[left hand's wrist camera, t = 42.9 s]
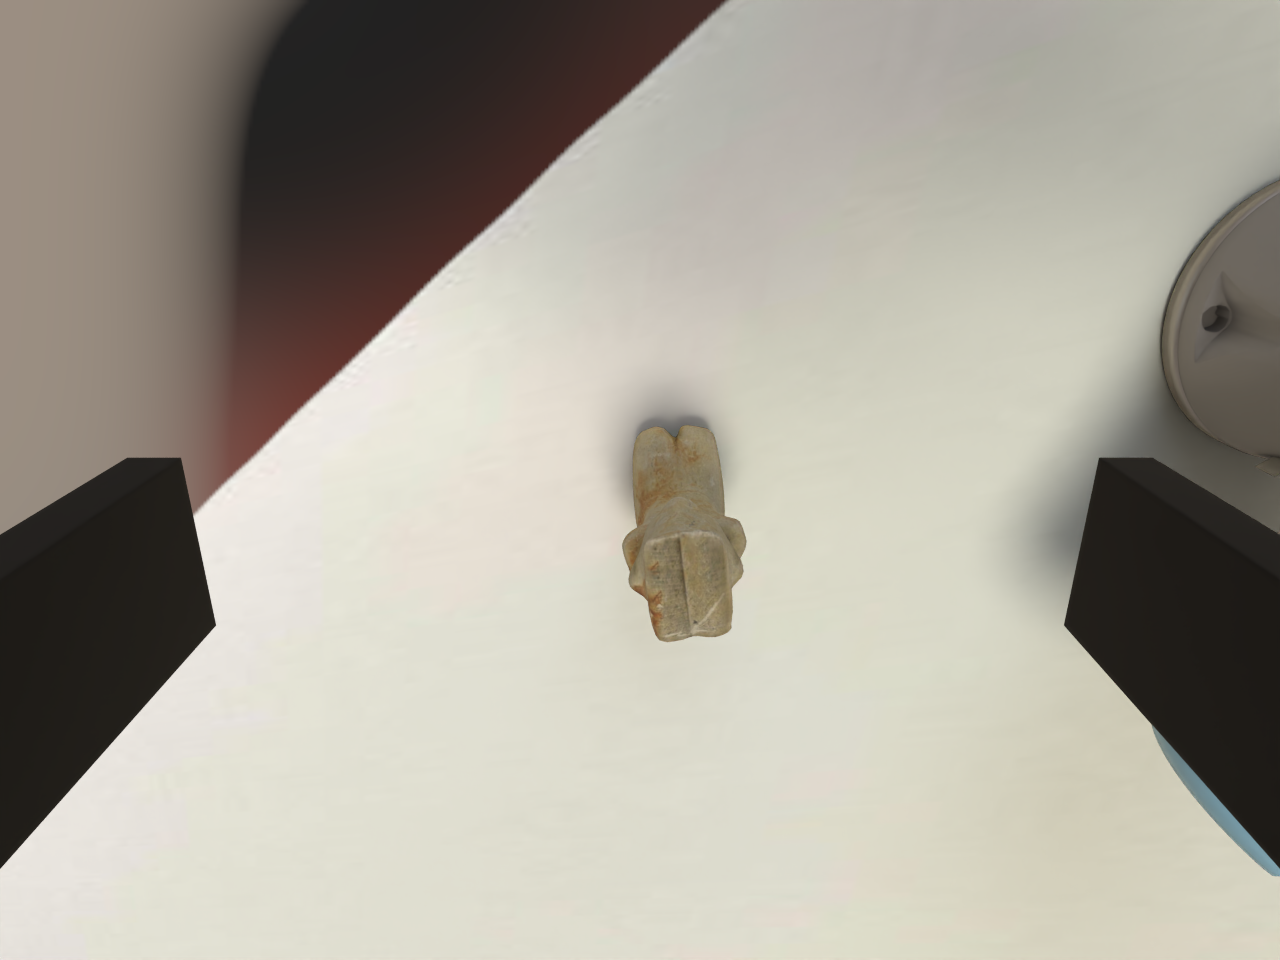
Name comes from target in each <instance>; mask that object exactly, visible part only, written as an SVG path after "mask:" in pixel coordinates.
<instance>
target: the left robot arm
mask: <svg viewBox="0 0 1280 960" xmlns="http://www.w3.org/2000/svg"><path fill="white" fill-rule="evenodd" d="M1162 358H1163V366H1164V372H1165V376H1166V380H1167V383H1168V386H1169V389H1170V391H1171V393H1172V395H1173V397H1174V399H1175V401H1176V403H1177V404H1178V406H1179V408H1180V409H1181V410H1182V412H1183V413H1184V414H1185V415H1186V417H1187V418H1188V419H1189V420H1190V421H1191V422H1192V423H1193V424H1194V425H1195V426H1196V427H1198V428H1199V429H1200V430H1202V431H1203V432H1204V433H1206V434H1207V435H1209V436H1211V437H1213V438H1214V439H1216V440H1218V441H1220V442H1222V443H1224V444H1226V445H1228V446H1230V447H1232V448H1234V449H1237V450H1239V451H1241V452H1244V453H1247V454H1250V455H1254V456H1258V457H1262V458H1265V459H1268V460H1266V461H1264V462H1262V463H1260V464H1259V465H1257V466H1255V467H1257V468H1259V469H1261V470H1262V471H1264V472H1266V473H1268V474H1270V475H1272V476H1274V477H1275V476H1277V475H1279V474H1280V180H1279V181H1277V182H1275V183H1273V184H1271V185H1269V186H1267V187H1265V188H1264V189H1262V190H1260V191H1259V192H1257V193H1255V194H1254V195H1252V196H1251V197H1249V198H1248V199H1247V200H1245V201H1244V202H1242V203H1241V204H1240V205H1238V206H1237V207H1236V208H1235V209H1234V210H1232V211H1231V212H1230V213H1229V214H1228V215H1227V216H1226V217H1225V218H1223V219H1222V220H1221V221H1220V222H1219V223H1218V224H1217V225H1216V226H1215V227H1214V228H1213V230H1212V231H1211V232H1210V233H1209V234H1208V235H1207V236H1206V238H1205V239H1204V240H1203V241H1202V243H1201V244H1200V245H1199V247H1198V248H1197V249H1196V251H1195V252H1194V253H1193V255H1192V256H1191V258H1190V260H1189V261H1188V263H1187V264H1186V266H1185V268H1184V270H1183V271H1182V273H1181V275H1180V277H1179V279H1178V281H1177V284H1176V286H1175V288H1174V291H1173V293H1172V296H1171V299H1170V302H1169V305H1168V308H1167V312H1166V316H1165V321H1164V327H1163V335H1162ZM215 626H216V623H215V618H214V613H213V609H212V604H211V599H210V594H209V590H208V585H207V580H206V575H205V571H204V566H203V561H202V556H201V551H200V547H199V542H198V537H197V532H196V528H195V523H194V518H193V513H192V509H191V504H190V499H189V494H188V489H187V485H186V480H185V475H184V470H183V466H182V461H181V458H126V459H125V460H123V461H121V462H120V463H118V464H116V465H115V466H113V467H111V468H110V469H108V470H106V471H105V472H103V473H101V474H100V475H98V476H96V477H95V478H93V479H92V480H90V481H88V482H87V483H85V484H83V485H82V486H80V487H78V488H77V489H75V490H73V491H72V492H70V493H68V494H67V495H65V496H63V497H62V498H60V499H59V500H57V501H55V502H54V503H52V504H50V505H49V506H47V507H45V508H44V509H42V510H40V511H39V512H37V513H36V514H34V515H32V516H30V517H29V518H27V519H26V520H24V521H22V522H21V523H19V524H17V525H16V526H14V527H12V528H11V529H9V530H7V531H6V532H4V533H2V534H1V535H0V868H1V867H2V866H3V865H4V864H5V863H6V862H7V861H8V859H9V858H10V857H11V856H12V855H13V854H14V853H15V852H16V850H17V849H18V848H19V847H20V846H21V845H22V844H23V843H24V841H25V840H26V839H27V838H28V837H29V836H30V835H31V833H32V832H33V831H34V830H35V829H36V828H37V827H38V826H39V824H40V823H41V822H42V821H43V820H44V819H45V818H46V817H47V815H48V814H49V813H50V812H51V811H52V810H53V809H54V808H55V806H56V805H57V804H58V803H59V802H60V801H61V800H62V799H63V797H64V796H65V795H66V794H67V793H68V792H69V791H70V789H71V788H72V787H73V786H74V785H75V784H76V783H77V782H78V780H79V779H80V778H81V777H82V776H83V775H84V774H85V773H86V771H87V770H88V769H89V768H90V767H91V766H92V765H93V764H94V762H95V761H96V760H97V759H98V758H99V757H100V756H101V755H102V753H103V752H104V751H105V750H106V749H107V748H108V747H109V745H110V744H111V743H112V742H113V741H114V740H115V739H116V738H117V736H118V735H119V734H120V733H121V732H122V731H123V730H124V729H125V727H126V726H127V725H128V724H129V723H130V722H131V721H132V720H133V718H134V717H135V716H136V715H137V714H138V713H139V712H140V711H141V709H142V708H143V707H144V706H145V705H146V704H147V703H148V702H149V700H150V699H151V698H152V697H153V696H154V695H155V694H156V692H157V691H158V690H159V689H160V688H161V687H162V686H163V685H164V683H165V682H166V681H167V680H168V679H169V678H170V677H171V676H172V674H173V673H174V672H175V671H176V670H177V669H178V668H179V667H180V665H181V664H182V663H183V662H184V661H185V660H186V659H187V658H188V656H189V655H190V654H191V653H192V652H193V651H194V650H195V648H196V647H197V646H198V645H199V644H200V643H201V642H202V641H203V639H204V638H205V637H206V636H207V635H208V634H209V633H210V632H211V630H212V629H213V628H214V627H215ZM1064 626H1065V627H1066V628H1067V629H1068V630H1069V632H1070V633H1071V634H1072V635H1073V636H1074V637H1075V638H1076V639H1077V641H1078V642H1079V643H1080V644H1081V645H1082V646H1083V647H1084V648H1085V650H1086V651H1087V652H1088V653H1089V654H1090V655H1091V656H1092V658H1093V659H1094V660H1095V661H1096V662H1097V663H1098V664H1099V665H1100V667H1101V668H1102V669H1103V670H1104V671H1105V672H1106V673H1107V674H1108V676H1109V677H1110V678H1111V679H1112V680H1113V681H1114V682H1115V683H1116V685H1117V686H1118V687H1119V688H1120V689H1121V690H1122V691H1123V692H1124V694H1125V695H1126V696H1127V697H1128V698H1129V699H1130V700H1131V702H1132V703H1133V704H1134V705H1135V706H1136V707H1137V708H1138V709H1139V711H1140V712H1141V713H1142V714H1143V715H1144V716H1145V717H1146V718H1147V720H1148V721H1149V722H1150V723H1151V724H1152V728H1153V731H1154V734H1155V737H1156V739H1157V741H1158V743H1159V745H1160V747H1161V749H1162V751H1163V753H1164V755H1165V757H1166V758H1167V760H1168V762H1169V763H1170V765H1171V766H1172V768H1173V769H1174V771H1175V772H1176V774H1177V775H1178V777H1179V778H1180V779H1181V781H1182V782H1183V784H1184V785H1185V786H1186V788H1187V789H1188V790H1189V791H1190V793H1191V794H1192V795H1193V796H1194V798H1195V799H1196V800H1197V801H1198V802H1199V804H1200V805H1201V806H1202V807H1203V808H1204V810H1205V811H1206V812H1207V813H1208V814H1209V815H1210V816H1211V817H1212V818H1213V820H1214V821H1215V822H1216V823H1217V824H1218V825H1219V826H1220V827H1221V828H1222V829H1223V830H1224V831H1225V832H1226V833H1227V834H1228V836H1229V837H1230V838H1231V839H1232V840H1233V841H1234V842H1235V843H1236V844H1237V845H1238V846H1239V847H1240V848H1241V849H1242V850H1243V851H1245V852H1246V853H1247V854H1248V855H1249V856H1250V857H1251V858H1252V859H1253V860H1254V861H1255V862H1256V863H1257V864H1259V865H1260V866H1261V867H1262V868H1263V869H1264V870H1266V871H1267V872H1268V873H1270V874H1271V875H1272V876H1280V531H1279V532H1278V533H1276V532H1274V531H1273V530H1271V529H1269V528H1268V527H1266V526H1264V525H1263V524H1261V523H1259V522H1258V521H1256V520H1254V519H1253V518H1251V517H1250V516H1248V515H1246V514H1245V513H1243V512H1241V511H1240V510H1238V509H1236V508H1235V507H1233V506H1231V505H1230V504H1228V503H1226V502H1225V501H1223V500H1221V499H1220V498H1218V497H1217V496H1215V495H1213V494H1212V493H1210V492H1208V491H1207V490H1205V489H1203V488H1202V487H1200V486H1198V485H1197V484H1195V483H1193V482H1192V481H1190V480H1188V479H1187V478H1185V477H1184V476H1182V475H1180V474H1179V473H1177V472H1175V471H1174V470H1172V469H1170V468H1169V467H1167V466H1165V465H1164V464H1162V463H1160V462H1159V461H1157V460H1155V459H1154V458H1099V461H1098V466H1097V470H1096V475H1095V480H1094V485H1093V489H1092V494H1091V499H1090V504H1089V508H1088V513H1087V518H1086V523H1085V528H1084V532H1083V537H1082V542H1081V547H1080V551H1079V556H1078V561H1077V566H1076V571H1075V575H1074V580H1073V585H1072V590H1071V594H1070V599H1069V604H1068V609H1067V613H1066V618H1065V623H1064Z"/></svg>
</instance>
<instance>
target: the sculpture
mask: <svg viewBox="0 0 1280 960" xmlns="http://www.w3.org/2000/svg"><path fill="white" fill-rule="evenodd" d="M633 492H634V505H635V515H636V523H637V528H636V529H634V530H632V531H631V532H630V533H629V534H628V535H627V536H626V537H625V539H624V541H623V544H622V547H623V553H624V557H625V560H626V563H627V565H628V567H629V571H630V575H629V584H630V587H631V588H632V589H633V590H635V591H636V592H638V593H639V594H641V595H642V596H643V597H644V598H645V599H646V600H647V601H648V606H649V613H650V617H651V622H652V626H653V629H654V632H655V634H656V636H657V637H658V639H659V640H661V641H665V642H672V641H678V640H683V639H686V638H688V637H692V636H703V637H717V636H720V635H723V634H725V633H727V632H728V631H729V630H730V629H731V621H732V613H733V605H732V590H731V589H732V587H733V586H734V585H735V584H736V583H737V581H738V580H739V579H740V578H741V577H742V574H743V565H742V562H741V559H740V558H741V556H742V554H743V552H744V550H745V547H746V537H745V534H744V531H743V528H742V525H741V523H740V521H738V520H736V519H733V518H730V517H726V516H725V507H724V491H723V481H722V473H721V466H720V460H719V455H718V450H717V446H716V441H715V437H714V435H713V433H712V432H711V431H710V430H708V429H706V428H702V427H696V426H690V425H685V426H682V427H681V428H680V430H679V433H678V435H677V437H673V436H672V435H670V434H669V433H668V432H667V431H666V430H665V429H663V428H661V427H652V428H650V429H647V430H645V431H642V432H641V433H640V434H639V435H638V437H637V439H636V441H635V444H634V451H633Z"/></svg>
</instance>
